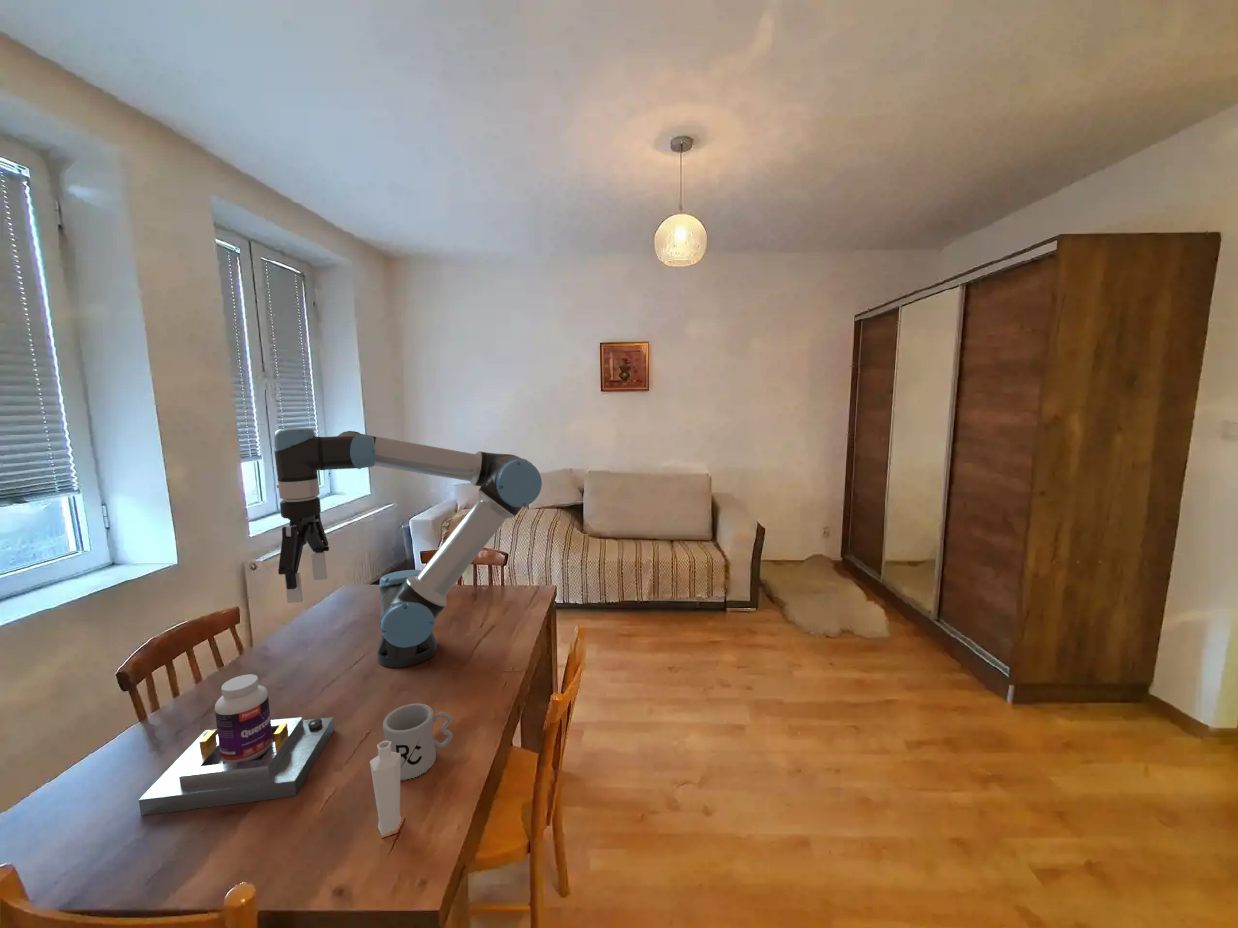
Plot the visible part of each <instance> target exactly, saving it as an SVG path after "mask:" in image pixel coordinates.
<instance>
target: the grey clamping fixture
mask: <svg viewBox="0 0 1238 928" xmlns="http://www.w3.org/2000/svg"><path fill="white" fill-rule="evenodd" d="M271 728H272V738H273V741H272V744H271V746H270V748H269V749H268V750H267V751H266V752H265V753H264V754H262V755H261V756H260V757H258V758H256V759H254V760H252V761H244V762H235V763H227V764H226V763H224V762H223V761H222V760H221V757H220V749H219V740H218V732H217V728H216V729H206V730H205V729H204V731H203V732H202V734H200V735H199V736H198V738H196V740H195V741H193V743H192V744H191V745H190V746H188V748H187V749H186V750H185V751H184V752H183V753H182V754H181V755H180V756H179V757H178V758H177V759H176V760H175V761H174V762H173V763H172V765H171V766H170V767H169V768H167V770H166V771H165V772H164V773H163V774H162V775H161V776H160V777H158V779H157V780H156V781H155V782H154V783H152V785H151V787H149V788H148V789H147V791H146V792H145V793H144V794H143V795H142V796H140V798H139V799H138V803H139V804H138V805H139V809H140V810H139V811H140V816H149V815H151V816H152V815H156V814H157V815H158V814H165V813H166V814H167V813H172V812H173V813H174V812H181V811H189V810H190V811H191V810H195V809H196V810H197V808H198V809H206V808H213V807H221V806H228V805H236V804H245V803H252V802H259V801H268V800H275V799H277V800H278V799H282V798H283V799H284V798H293V797H297V796H298V793H299V792H300V790H301V788H302V787H303V785H304V783H305V782H306V779H308V777H309V775H310V773H311V771H312V770H313V768H314V766H315V764H316V763H317V761H318V759H319V757H320V756H321V754H322V752H323V751H324V749H325V747H326V745H327V743H328V742H329V740H330V738H331V737H332V735H333V733H334V731H335V723H334V717H333V716H332V717H321V718H311V719H304V718H303V717H301V716H299V717H291V718H290V717H289V718H280V719H271Z"/></svg>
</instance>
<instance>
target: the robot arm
mask: <svg viewBox="0 0 1238 928" xmlns="http://www.w3.org/2000/svg"><path fill="white" fill-rule="evenodd" d="M273 437H274V438H273V439H274V442H273V443H274V450H273V452H274V458H275V467H276V476H277V484H276V488H277V489H278V494H279V495H278V496H279V498H280V499H281V501H280V502H279V508H280V516H281V518H283V519H288V520H289V526H282V528H281V536H282V537H281V547H280V554H279V560H278V561H279V563H278V569H277V570H278V571H277V574H278V575H280V576H281V575H284V580H285V581H284V583H285V591H286V592H285V593H286V598H287V599H286V601H287V604H289V603H290V604H292V603H293V604H294V603H302V602H303V601H304V598H303V587H302V578H301V576H302V575H301V571H299V566H300V563H301V558H302V554H303V550H304V549H303V548H304V545H306V544H308V545H309V547H310V549H311V550H312V551H313V552H311V567H312V578H313V579H312V580H313V581H317V580H319V581H320V580H326V579H328V574H327V573H328V572H327V565H326V564H327V563H326V553H325V552H329V551H330V546H329V540H328V537H327V535H326V532H325V530H324V529H325V528H324V525H323V524H322V520H321V512H322V511H321V510H322V508H321V507H322V506H321V499H320V497H318V496H319V495H320V484H319V476H318V471H328V470H348V469H349V470H352V469H353V470H354V469H357V470H361V469H365V468H374V467H380V468H387V469H392V470H398V471H405V472H410V473H411V472H412V473H417V474H422V475H429V476H436V477H443V478H449V479H456V480H461V481H467V482H470V483H471V485H472V486H475V487H480V488H478V499H477V501H476V502H475V503H474V504H473V506H472V507H471V508H470V509H469V510H468V512H467V513H466V515H465V516H464V517H463V518H462V519H461V521H460V522H459V523H458V525H456V527H455V528H454V529H453V531H452V532H451V533H450V534H449V535H448V537H447V538H446V539H445V540H444V542H443V543H442V544H441V546H440V547H439V548H438V549H437V550H436V552H435V553H434V554H433V556H432V557H431V558H430V559H429V560H428V562H427V563H426V564H425V566H424V567H422V569H407V570H406V569H405V570H400V571H399V570H398V571H394V572H390V573H387V574H384V575H382V577H380V578H379V586H378V589H379V592H380V593H379V594H380V596H379V597H380V619H379V626H380V627H379V629H380V630H381V636H380V639H379V643H378V647H377V651H376V656H377V658H376V659H377V661H378V664H380V665H381V666H383V667H385V668H394V669H395V668H397V669H398V668H407V667H412V666H415V665H418V664H422V663H423V662H426V661H427V660H429V659H430V657H431V658H432V657H433V656H434V655H435V654H436V653H435V652H437V651H438V642H437V637H436V636H435V633H434V627H435V625H436V623H435V622H436V618H438V616H439V615H440V614H441V612H442V611H443V610H444V608H445V607H446V606H447V604H448V602H447V595H448V594H449V592H450V591H451V590H452V588H453V587H454V586H455V584H456V583H457V582H458V581H459V580H460V578H461V576H462V575H463V574H464V573H465V572H466V571H467V569H468V568H469V567H470V565H471V564H472V563H473V562H474V560H475V559H476V558H477V556H478V555H479V554H480V553H481V552H482V550H483V549H484V547H485V546H486V545H487V544H488V542H489V541H490V540H491V539H492V537H493V536H494V535H495V533H496V532H497V531H498V530H499V528H500V527H501V526H502V525H503V524H504V522H505V520H507V519H512V518H515V517H516V516H517V515H518V513H520V511H521V510H522V509H523V508H524V507H526V506H527V507H528V506H529V505H531V504H533V503H534V502H535V501H536V500H537V498H538V497H539V496H540V493H541V491H542V487H543V486H542V485H543V482H542V475H541V473H540V471H539V469H538V468H537V467H536V466H535V465H534V464H533V463H532V462H531V461H529V460H527V459H525V458H522V457H520V456H517V455H515V454H509V453H494V452H485V451H477V452H475V453H470V452H465V451H460V450H459V451H458V450H454V449H449V448H443V447H436V446H431V445H426V444H421V443H414V442H408V441H404V440H398V439H392V438H386V437H381V436H374V435H369V434H365V433H360V432H359V431H355V430H347V431H343V432H341V433H339V434H338V435H337V436H336V435H333V436H316V434H315V431H314V430H313V428H310V427H308V428H307V427H303V428H302V427H291V428H281V429H278V430H276V431H275V432H274V436H273ZM436 650H437V651H436ZM425 660H426V661H425Z"/></svg>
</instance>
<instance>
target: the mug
mask: <svg viewBox="0 0 1238 928" xmlns="http://www.w3.org/2000/svg"><path fill="white" fill-rule="evenodd" d="M440 718H445V719H446V720H445V722H444V723H443V724H442V725H441V727H440V732H441V734H443V735H445V736H447V738H446V739H445V740H444V741H442V742H439V741H438V740H437V739H434V731H433V725H434V724H435V723H436V722H437V721H438V720H439V719H440ZM451 722H452V716H451V714H450V713H448V712H446V711H439V712H438V713H436V714H434V710H433V708H432V707H431V706H430V705H428V704H424V703H409V704H405V705H402V706H399V707H397V708H395V709H394V710H391V712H389V713H388V714H386V716H385V717H384V720H383V722H382V729H383V733H384V737H385V740H386V741H391V752H396V753H401V768H400V781H408V780H407V779H409V780H412V779H411V778H413V779H415V777H416V778H418V777H420V776H422V775H423V773H424V774H425V773H426V772H428V771H429V770H430V769H431V768H432V767H433V765H434V764H435V762H436V759H437V749H436V748H439V749H441V748H442V749H443V748H445V747H446V746H448V745H449V743H450V742H451V741H452V739H453V737H454V735H453V732H452V731H450V730H449V729H447V728H448V727H449V725H450V724H451ZM429 768H430V769H429ZM428 769H429V770H428ZM427 770H428V771H427ZM421 774H422V775H421ZM419 775H420V776H419ZM417 776H418V777H417Z"/></svg>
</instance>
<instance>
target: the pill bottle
mask: <svg viewBox="0 0 1238 928" xmlns="http://www.w3.org/2000/svg"><path fill="white" fill-rule="evenodd" d="M269 699H270V698H269V692H268V689H267V688H266V687H265V686H263V685H260V684H259V676H258V675H256V674H252V673H251V674H242V675H239V676H236V677H233V678H231V679H228V680H227V681H226V682H224V683H223V684H222V685H221V696H220V698H218V699H217V701H216V703H215V705H214V714H215V723H216V729H217V732H218V740H219V749H220V757H221V760H222V761H223V762H224V763H226V764H227V763H235V762H244V761H252V760H254V759H256V758H258V757H260V756H261V755H262V754H264V753H265V752H266V751H267V750H268V749H269V748H270V746H271V744H272V741H273V738H272V728H271V720H272V719H271V710H270V700H269Z"/></svg>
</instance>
